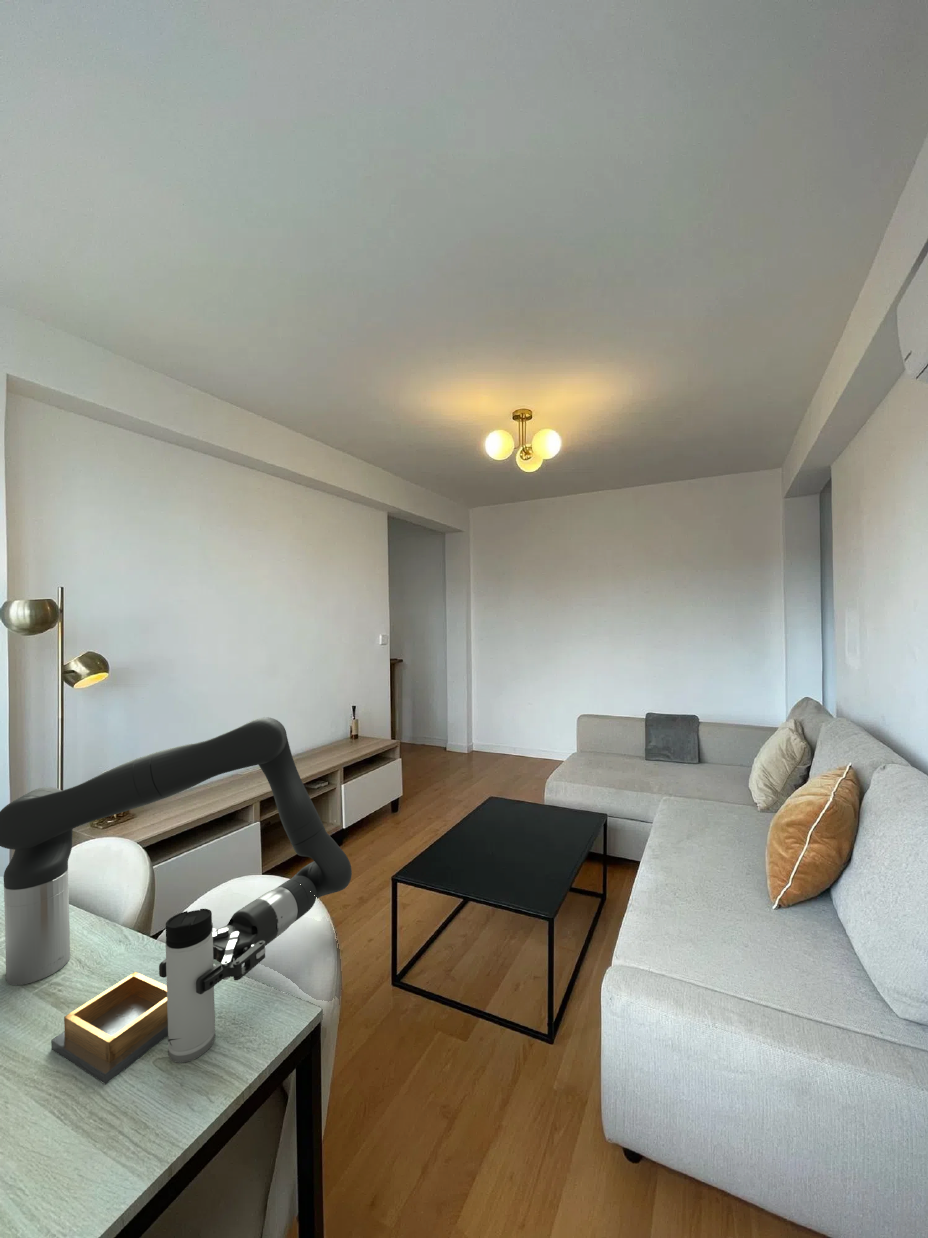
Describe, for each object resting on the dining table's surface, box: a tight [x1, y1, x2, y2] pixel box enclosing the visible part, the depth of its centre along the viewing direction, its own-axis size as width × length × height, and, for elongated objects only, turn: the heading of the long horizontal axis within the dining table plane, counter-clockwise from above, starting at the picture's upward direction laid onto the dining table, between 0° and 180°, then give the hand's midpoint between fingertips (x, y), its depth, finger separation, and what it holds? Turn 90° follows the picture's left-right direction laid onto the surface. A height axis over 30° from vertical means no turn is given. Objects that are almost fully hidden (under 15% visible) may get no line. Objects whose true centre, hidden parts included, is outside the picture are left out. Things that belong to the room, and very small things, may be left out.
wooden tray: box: [50, 971, 168, 1085], centre depth 78 cm, size 14×13×4 cm
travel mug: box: [165, 908, 216, 1063], centre depth 75 cm, size 6×7×20 cm
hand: (178, 979), depth 74 cm, fingers open, 8 cm apart
